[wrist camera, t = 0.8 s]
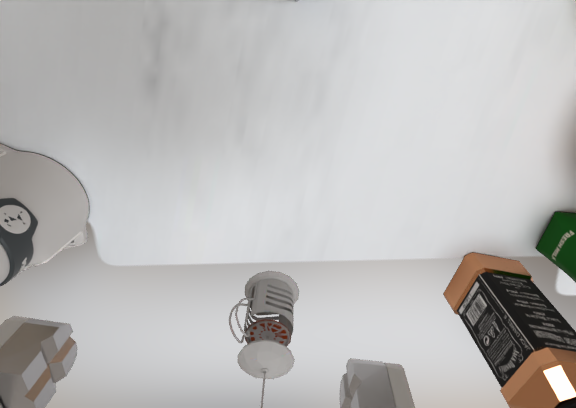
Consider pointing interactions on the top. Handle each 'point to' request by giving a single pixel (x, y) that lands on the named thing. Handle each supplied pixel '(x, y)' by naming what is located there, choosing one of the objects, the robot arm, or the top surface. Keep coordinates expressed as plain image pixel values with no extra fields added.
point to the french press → (267, 326)
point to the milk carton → (561, 242)
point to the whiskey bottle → (516, 331)
